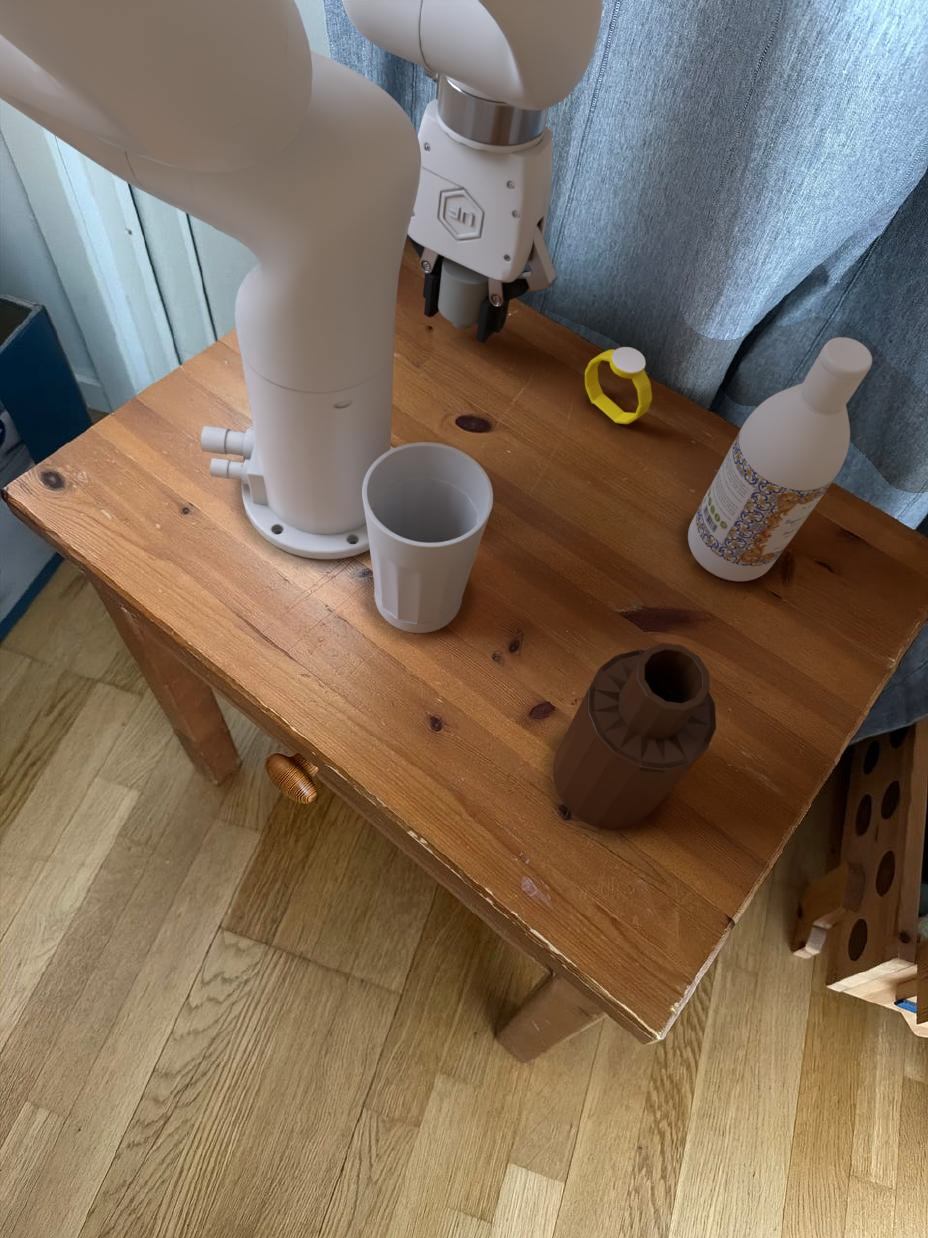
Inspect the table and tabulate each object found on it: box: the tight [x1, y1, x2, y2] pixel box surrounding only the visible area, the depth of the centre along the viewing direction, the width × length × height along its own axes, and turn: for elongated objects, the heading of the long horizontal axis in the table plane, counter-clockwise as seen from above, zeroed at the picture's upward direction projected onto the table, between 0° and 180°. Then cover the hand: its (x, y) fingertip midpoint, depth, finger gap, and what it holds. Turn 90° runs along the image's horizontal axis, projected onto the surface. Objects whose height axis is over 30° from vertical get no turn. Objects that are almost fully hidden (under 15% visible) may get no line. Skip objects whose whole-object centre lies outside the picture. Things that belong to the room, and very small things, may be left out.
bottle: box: [552, 642, 717, 830], centre depth 53 cm, size 7×7×15 cm
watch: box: [584, 346, 653, 425], centre depth 73 cm, size 6×3×6 cm, turn 44°
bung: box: [438, 257, 489, 330], centre depth 73 cm, size 4×4×6 cm
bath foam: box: [687, 336, 873, 582], centre depth 61 cm, size 7×7×20 cm
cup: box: [362, 441, 494, 634], centre depth 60 cm, size 8×8×12 cm
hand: (462, 318), depth 75 cm, fingers closed on bung, 4 cm apart
